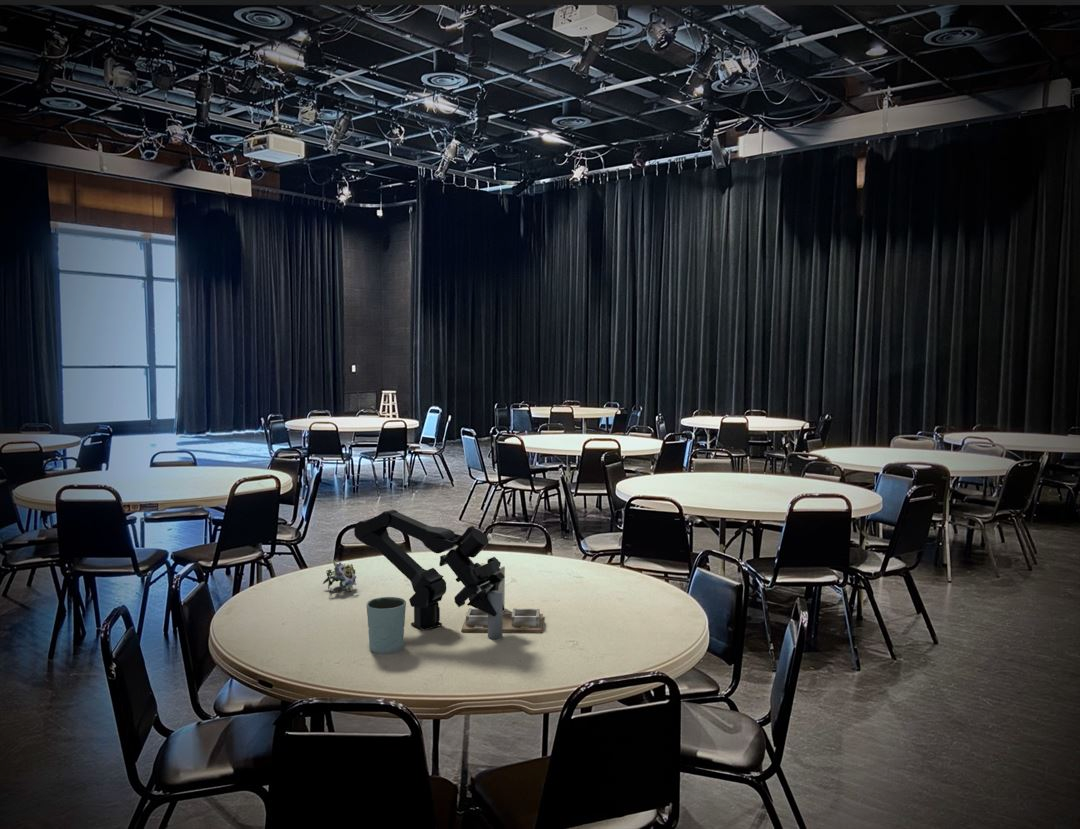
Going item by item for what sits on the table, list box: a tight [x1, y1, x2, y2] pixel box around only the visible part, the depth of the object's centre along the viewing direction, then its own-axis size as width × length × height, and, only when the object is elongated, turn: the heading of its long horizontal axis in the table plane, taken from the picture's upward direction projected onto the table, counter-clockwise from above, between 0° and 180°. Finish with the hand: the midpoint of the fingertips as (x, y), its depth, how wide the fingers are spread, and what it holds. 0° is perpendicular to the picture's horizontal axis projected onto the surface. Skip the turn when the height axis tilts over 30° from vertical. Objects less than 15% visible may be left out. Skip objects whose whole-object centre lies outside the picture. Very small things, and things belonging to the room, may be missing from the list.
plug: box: [487, 591, 504, 640], centre depth 212 cm, size 4×4×12 cm
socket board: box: [461, 607, 544, 634], centre depth 223 cm, size 22×14×3 cm, turn 88°
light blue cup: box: [365, 596, 407, 655], centre depth 204 cm, size 10×10×12 cm
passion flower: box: [322, 560, 357, 592], centre depth 258 cm, size 11×11×12 cm
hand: (499, 613), depth 212 cm, fingers closed on plug, 4 cm apart
